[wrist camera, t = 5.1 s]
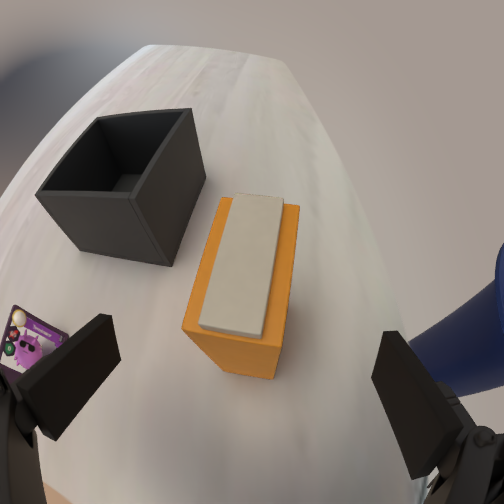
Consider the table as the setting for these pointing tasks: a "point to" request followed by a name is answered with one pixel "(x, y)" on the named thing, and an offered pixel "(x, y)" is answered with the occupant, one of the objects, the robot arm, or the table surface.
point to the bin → (128, 185)
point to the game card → (26, 340)
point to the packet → (244, 284)
